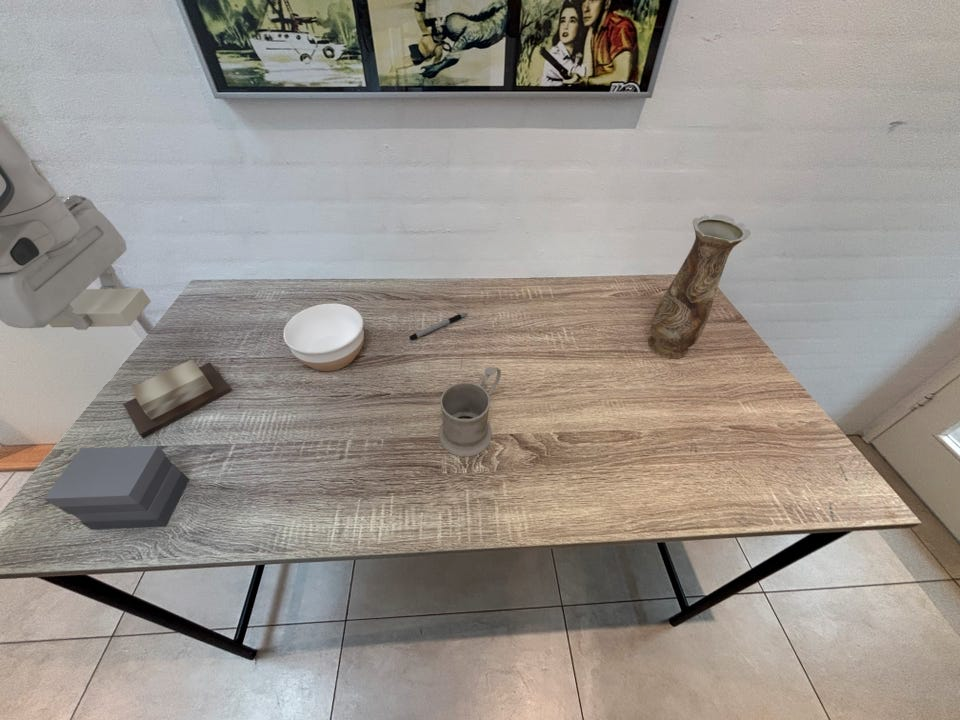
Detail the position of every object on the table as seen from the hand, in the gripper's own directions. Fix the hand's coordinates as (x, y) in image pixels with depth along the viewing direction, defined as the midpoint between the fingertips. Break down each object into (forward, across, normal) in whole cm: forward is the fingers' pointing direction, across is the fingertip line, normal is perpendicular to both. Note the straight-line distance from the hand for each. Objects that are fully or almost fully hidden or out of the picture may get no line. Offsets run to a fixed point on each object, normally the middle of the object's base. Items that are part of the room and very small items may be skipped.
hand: (100, 310), depth 61 cm
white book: (+1, 0, 0) cm, 1 cm away
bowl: (+25, -15, +25) cm, 39 cm away
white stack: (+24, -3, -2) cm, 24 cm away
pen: (+26, -24, +49) cm, 60 cm away
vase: (+26, -16, +102) cm, 106 cm away
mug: (+25, +6, +56) cm, 62 cm away
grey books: (+24, +19, +2) cm, 31 cm away
